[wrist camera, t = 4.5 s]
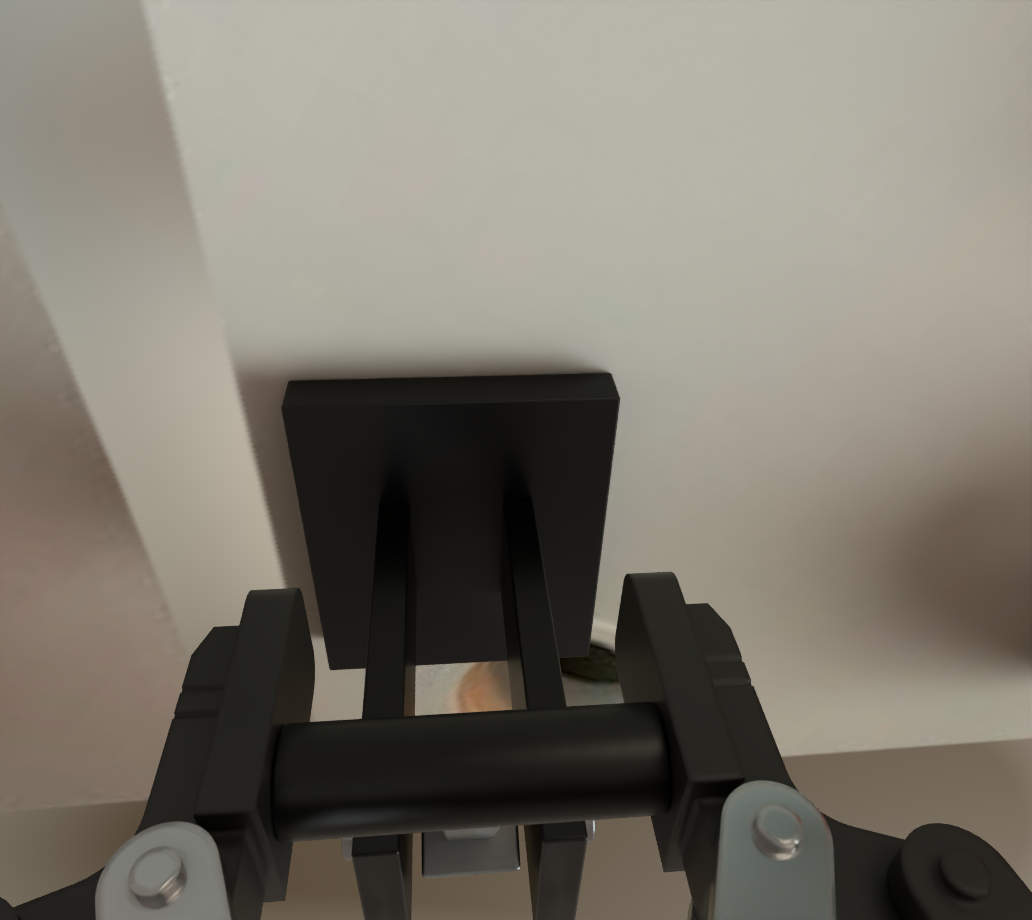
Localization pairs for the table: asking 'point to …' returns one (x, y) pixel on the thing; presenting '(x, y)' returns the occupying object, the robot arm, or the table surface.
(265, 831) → the robot arm
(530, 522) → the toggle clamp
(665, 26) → the table surface
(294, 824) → the lever
